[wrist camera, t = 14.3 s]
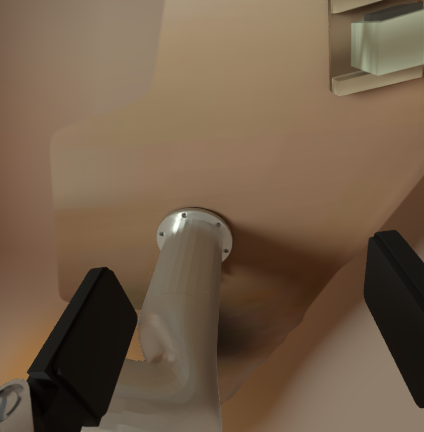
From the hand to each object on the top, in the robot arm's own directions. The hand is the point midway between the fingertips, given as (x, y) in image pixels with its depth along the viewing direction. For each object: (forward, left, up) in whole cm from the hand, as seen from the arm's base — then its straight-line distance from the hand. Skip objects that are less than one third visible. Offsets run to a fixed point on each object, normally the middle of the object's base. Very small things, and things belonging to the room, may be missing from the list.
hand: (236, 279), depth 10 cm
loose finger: (+3, -15, -28) cm, 32 cm away
